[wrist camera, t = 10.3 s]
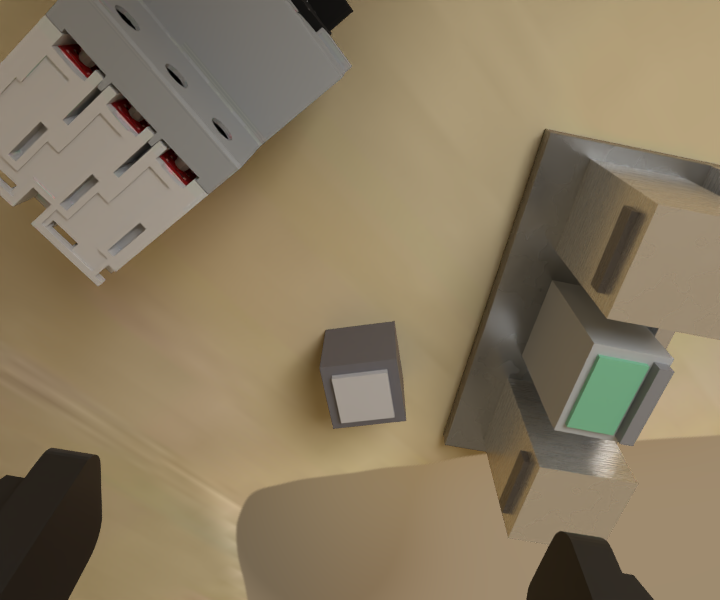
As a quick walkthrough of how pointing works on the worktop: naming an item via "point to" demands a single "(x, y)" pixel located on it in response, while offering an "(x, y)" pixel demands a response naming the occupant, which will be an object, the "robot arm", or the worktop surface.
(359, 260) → the worktop surface
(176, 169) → the circuit breaker
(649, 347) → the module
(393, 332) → the block
